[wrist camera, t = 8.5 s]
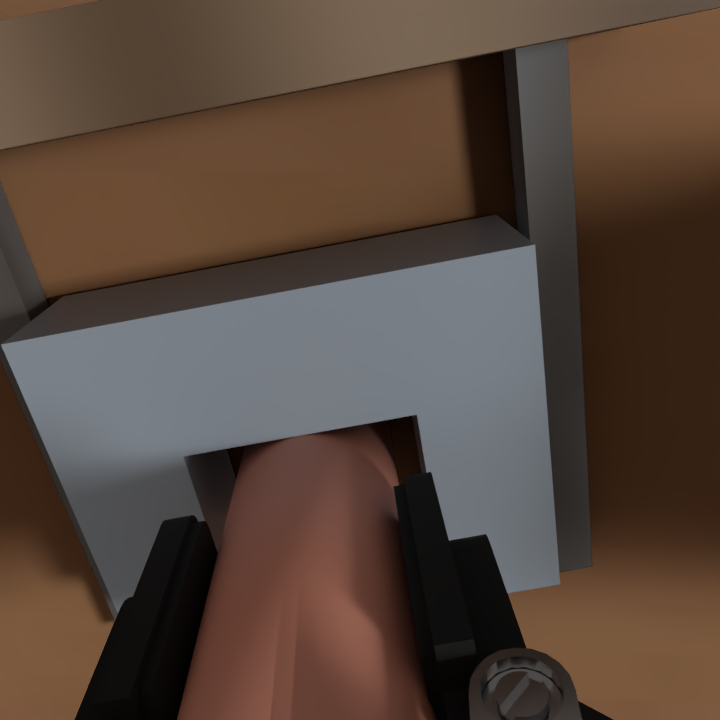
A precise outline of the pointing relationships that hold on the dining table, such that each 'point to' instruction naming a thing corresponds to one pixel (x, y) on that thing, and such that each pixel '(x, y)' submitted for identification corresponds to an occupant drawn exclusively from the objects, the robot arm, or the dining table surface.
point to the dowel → (310, 589)
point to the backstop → (310, 71)
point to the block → (302, 385)
